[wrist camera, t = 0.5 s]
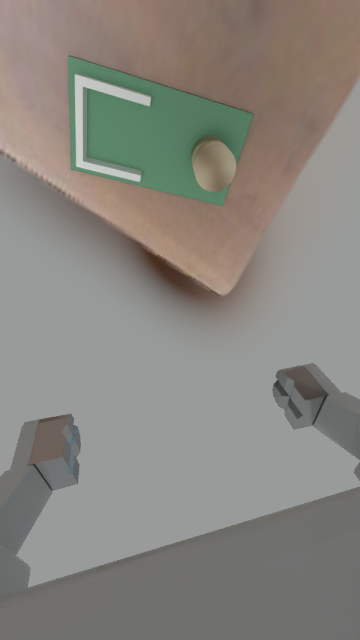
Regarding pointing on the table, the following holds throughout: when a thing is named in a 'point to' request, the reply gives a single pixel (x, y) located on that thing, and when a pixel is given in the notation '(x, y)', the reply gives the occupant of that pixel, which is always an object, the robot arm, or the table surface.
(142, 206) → the table surface
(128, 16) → the table surface
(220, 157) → the maple canister
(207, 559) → the robot arm
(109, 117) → the putting green
